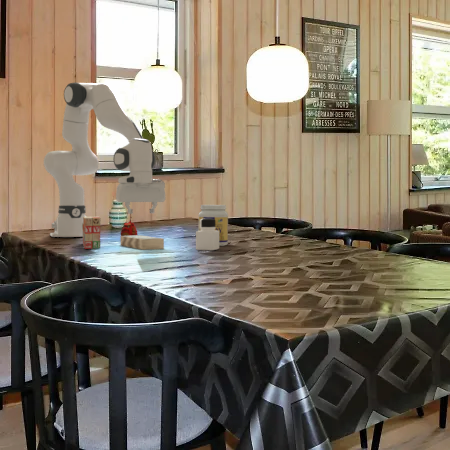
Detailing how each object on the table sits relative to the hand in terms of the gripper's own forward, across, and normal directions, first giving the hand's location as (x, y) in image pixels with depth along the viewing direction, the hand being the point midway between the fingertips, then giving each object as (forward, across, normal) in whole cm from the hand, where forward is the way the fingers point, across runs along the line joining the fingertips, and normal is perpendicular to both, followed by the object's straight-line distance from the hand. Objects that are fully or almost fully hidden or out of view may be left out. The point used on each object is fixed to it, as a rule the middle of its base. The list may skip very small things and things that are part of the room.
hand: (141, 213), depth 262 cm
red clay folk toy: (+14, -4, -23) cm, 27 cm away
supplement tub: (+14, -28, +9) cm, 32 cm away
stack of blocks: (+14, +16, -13) cm, 25 cm away
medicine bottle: (+14, -18, +23) cm, 32 cm away
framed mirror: (+14, 0, 0) cm, 14 cm away
